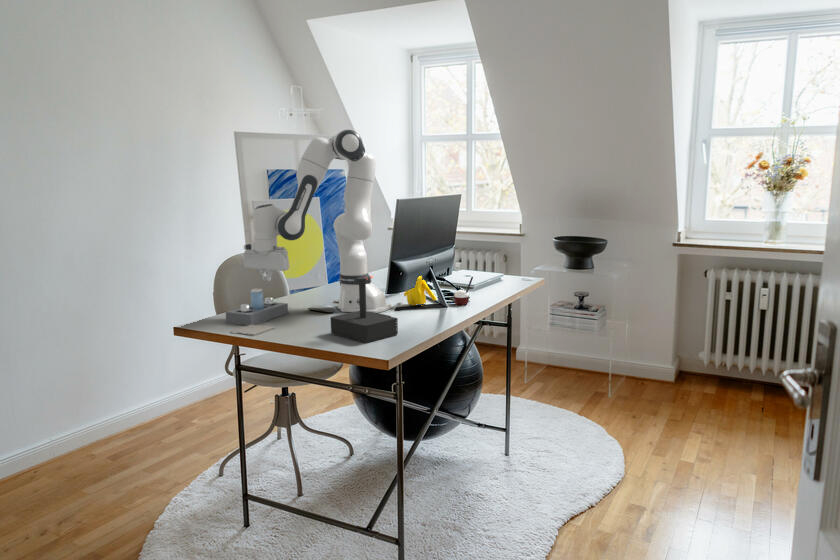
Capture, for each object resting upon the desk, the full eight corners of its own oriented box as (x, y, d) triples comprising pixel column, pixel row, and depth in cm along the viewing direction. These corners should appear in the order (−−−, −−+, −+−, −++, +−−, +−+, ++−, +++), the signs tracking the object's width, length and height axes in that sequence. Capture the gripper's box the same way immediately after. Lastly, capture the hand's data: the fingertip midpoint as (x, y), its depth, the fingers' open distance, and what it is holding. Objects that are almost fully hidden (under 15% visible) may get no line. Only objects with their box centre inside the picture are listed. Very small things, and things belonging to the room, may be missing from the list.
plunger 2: (275, 308, 253) (274, 297, 252) (270, 310, 250) (269, 299, 250) (268, 307, 255) (268, 297, 254) (263, 309, 252) (263, 298, 251)
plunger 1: (251, 315, 241) (250, 304, 240) (245, 317, 238) (245, 306, 237) (245, 314, 242) (244, 303, 241) (239, 316, 239) (238, 305, 239)
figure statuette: (439, 306, 263) (439, 253, 259) (427, 309, 257) (427, 255, 254) (407, 301, 274) (406, 250, 271) (395, 304, 268) (394, 252, 265)
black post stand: (402, 334, 219) (401, 277, 215) (365, 344, 207) (363, 284, 204) (366, 325, 232) (364, 272, 229) (329, 334, 220) (327, 278, 217)
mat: (274, 328, 229) (274, 327, 229) (254, 335, 219) (254, 334, 219) (251, 325, 234) (251, 324, 234) (230, 332, 224) (230, 331, 224)
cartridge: (266, 317, 248) (265, 288, 246) (258, 319, 244) (257, 291, 242) (257, 316, 250) (255, 288, 248) (249, 318, 246) (247, 290, 244)
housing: (264, 310, 259) (264, 301, 258) (288, 313, 254) (287, 303, 253) (226, 322, 240) (225, 312, 239) (251, 325, 234) (250, 314, 234)
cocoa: (449, 305, 266) (447, 277, 264) (458, 302, 271) (456, 275, 269) (467, 307, 260) (465, 278, 258) (476, 304, 264) (474, 276, 262)
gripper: (292, 246, 246) (293, 281, 249) (251, 243, 255) (252, 277, 258) (281, 248, 241) (282, 283, 243) (240, 245, 250) (241, 279, 252)
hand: (266, 280), depth 250 cm, fingers closed
